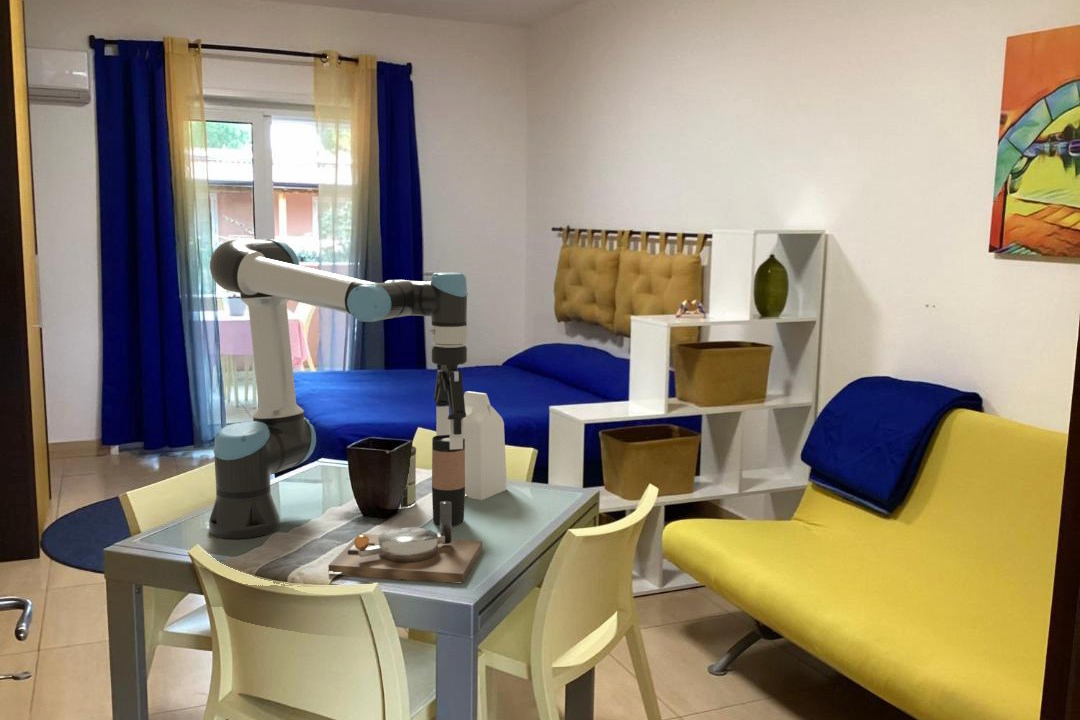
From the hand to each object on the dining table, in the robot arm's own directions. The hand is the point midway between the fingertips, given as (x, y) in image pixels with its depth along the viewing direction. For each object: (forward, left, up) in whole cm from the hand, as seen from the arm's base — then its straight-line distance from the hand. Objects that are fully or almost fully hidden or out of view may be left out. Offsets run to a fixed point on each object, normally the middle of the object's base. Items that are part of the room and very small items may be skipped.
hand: (449, 441), depth 203 cm
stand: (-5, -16, -22) cm, 27 cm away
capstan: (-5, -16, -20) cm, 25 cm away
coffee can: (-19, +22, -22) cm, 37 cm away
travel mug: (-3, +11, -22) cm, 25 cm away
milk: (-2, +37, -22) cm, 43 cm away
